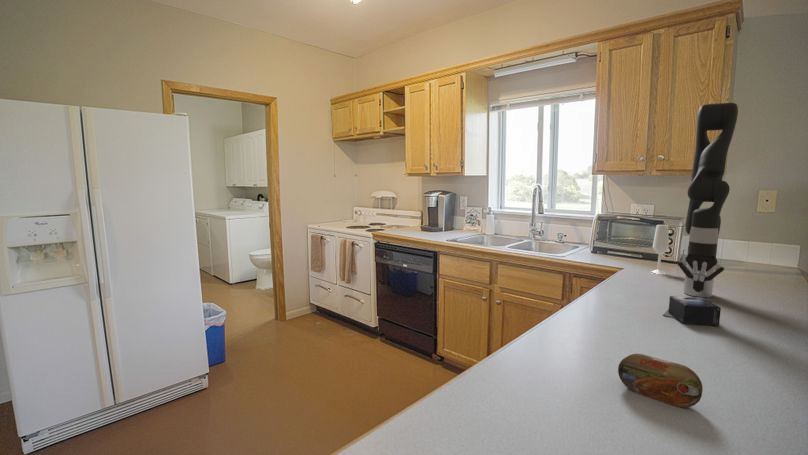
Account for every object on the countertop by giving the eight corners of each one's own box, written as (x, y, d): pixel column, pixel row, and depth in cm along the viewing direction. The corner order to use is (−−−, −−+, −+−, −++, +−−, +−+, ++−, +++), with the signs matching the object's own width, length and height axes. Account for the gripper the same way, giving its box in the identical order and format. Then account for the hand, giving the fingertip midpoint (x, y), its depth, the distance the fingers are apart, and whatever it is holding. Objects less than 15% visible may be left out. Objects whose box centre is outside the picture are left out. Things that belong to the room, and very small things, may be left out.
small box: (721, 306, 121) (684, 304, 123) (720, 326, 122) (682, 324, 124) (703, 296, 131) (668, 295, 133) (701, 314, 132) (667, 313, 134)
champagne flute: (647, 271, 194) (651, 224, 191) (659, 271, 195) (663, 224, 192) (657, 275, 187) (661, 226, 184) (669, 274, 188) (674, 226, 185)
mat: (671, 306, 141) (672, 305, 141) (707, 313, 134) (707, 312, 134) (662, 315, 132) (662, 314, 132) (701, 323, 124) (701, 322, 124)
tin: (616, 386, 87) (619, 351, 86) (620, 381, 89) (623, 346, 88) (699, 415, 76) (703, 375, 75) (701, 408, 79) (705, 369, 78)
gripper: (730, 241, 126) (724, 293, 128) (681, 237, 135) (676, 285, 137) (727, 244, 120) (721, 298, 123) (676, 239, 130) (672, 289, 132)
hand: (697, 291), depth 130 cm, fingers closed
